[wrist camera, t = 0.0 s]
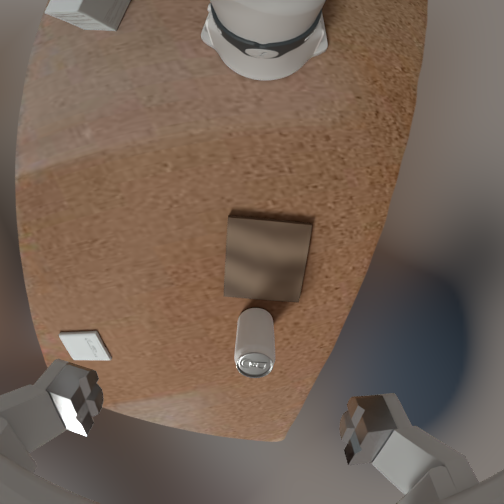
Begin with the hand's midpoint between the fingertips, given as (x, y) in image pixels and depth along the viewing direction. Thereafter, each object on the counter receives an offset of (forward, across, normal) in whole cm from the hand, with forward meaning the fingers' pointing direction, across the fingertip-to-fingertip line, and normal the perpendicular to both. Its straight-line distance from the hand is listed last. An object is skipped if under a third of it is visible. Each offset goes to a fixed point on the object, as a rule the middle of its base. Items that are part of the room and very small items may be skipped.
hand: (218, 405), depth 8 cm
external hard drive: (+43, +36, +35) cm, 66 cm away
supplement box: (+36, +27, -34) cm, 56 cm away
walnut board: (+40, -4, +8) cm, 41 cm away
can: (+41, -3, +21) cm, 46 cm away
